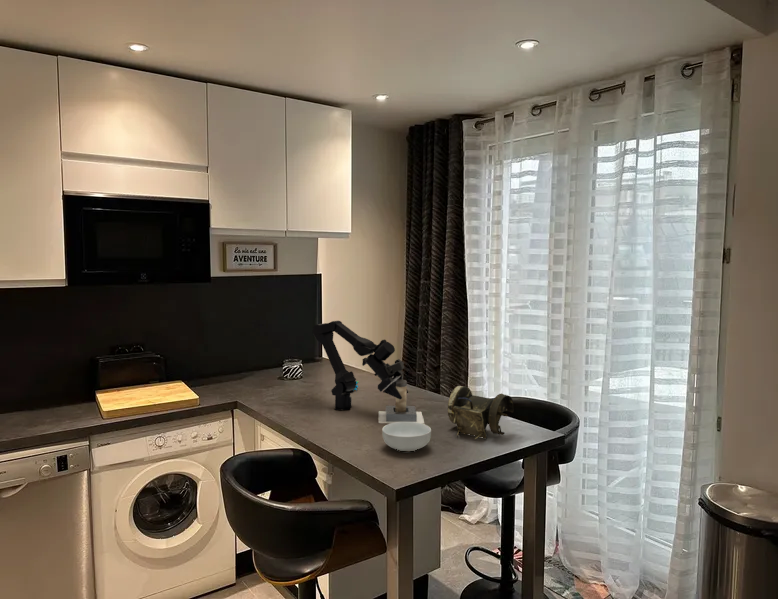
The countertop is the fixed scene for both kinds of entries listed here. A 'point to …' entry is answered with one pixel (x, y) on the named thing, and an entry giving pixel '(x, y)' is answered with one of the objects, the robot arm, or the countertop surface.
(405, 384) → the beige tall cylinder
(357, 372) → the countertop surface
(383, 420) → the board
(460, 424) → the bench grinder
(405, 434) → the cereal bowl
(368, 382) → the countertop surface
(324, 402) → the countertop surface
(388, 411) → the housing
